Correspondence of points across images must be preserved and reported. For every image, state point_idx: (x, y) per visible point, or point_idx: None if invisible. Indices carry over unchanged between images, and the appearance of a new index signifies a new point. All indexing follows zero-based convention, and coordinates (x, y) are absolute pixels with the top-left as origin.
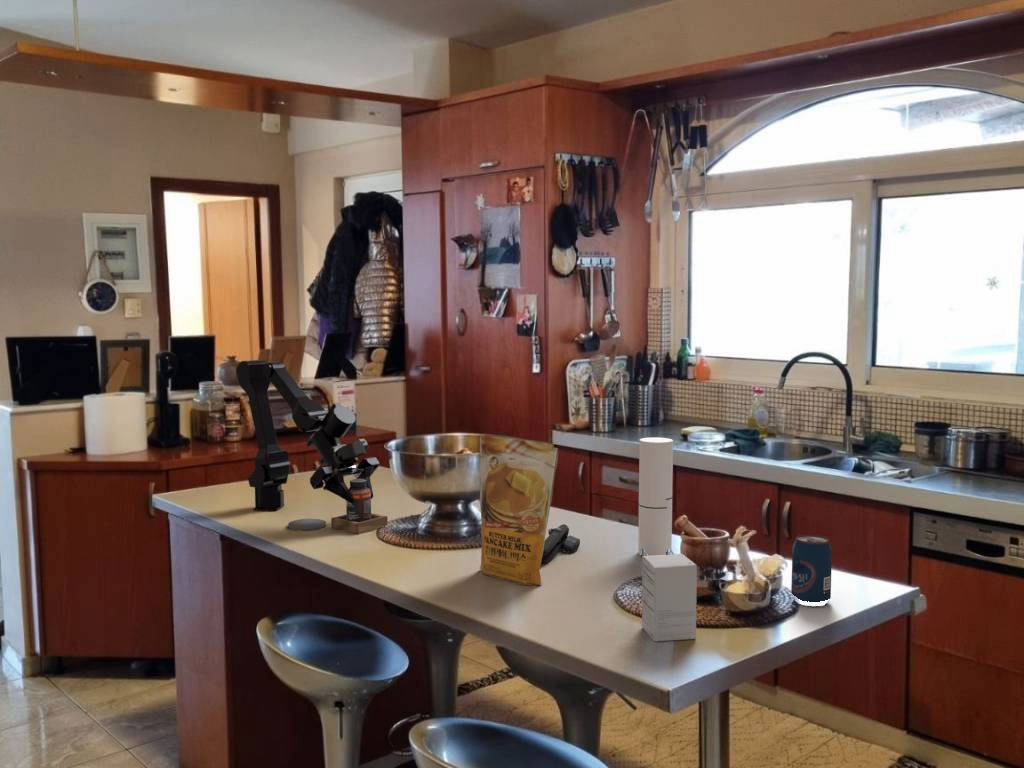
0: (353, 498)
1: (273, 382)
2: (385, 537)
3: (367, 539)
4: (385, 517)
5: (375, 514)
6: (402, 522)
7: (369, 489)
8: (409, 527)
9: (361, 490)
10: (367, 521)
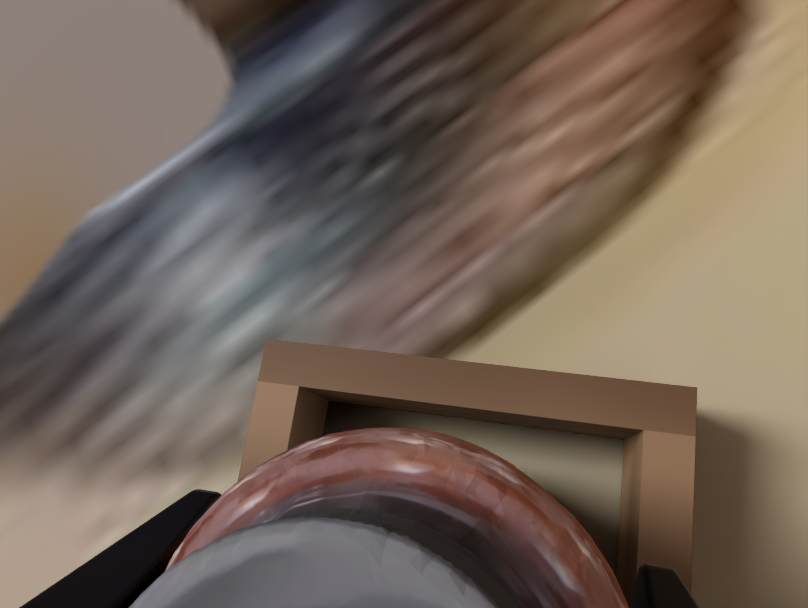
0: (653, 589)
1: None
2: (610, 142)
3: (760, 219)
4: (295, 342)
5: None
6: (122, 344)
7: (235, 495)
8: (244, 193)
9: (481, 515)
10: (552, 374)
